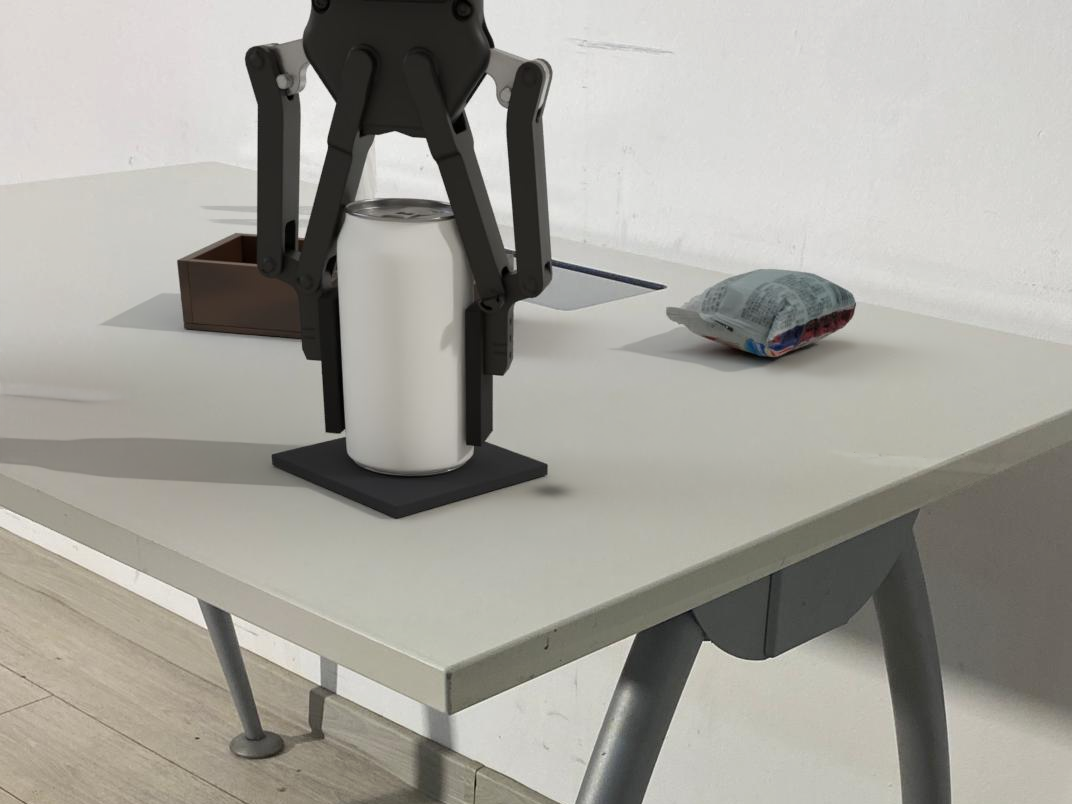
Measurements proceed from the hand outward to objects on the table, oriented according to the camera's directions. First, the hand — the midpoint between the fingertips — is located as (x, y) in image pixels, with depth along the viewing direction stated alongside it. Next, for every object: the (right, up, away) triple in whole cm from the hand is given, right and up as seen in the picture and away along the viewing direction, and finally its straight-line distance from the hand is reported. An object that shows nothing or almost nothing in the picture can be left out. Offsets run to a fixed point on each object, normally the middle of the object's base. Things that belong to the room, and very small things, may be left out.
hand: (409, 430), depth 72 cm
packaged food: (+21, +12, +26) cm, 36 cm away
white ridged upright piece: (-13, +36, +61) cm, 72 cm away
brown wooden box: (-7, +14, +27) cm, 31 cm away
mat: (0, -2, +1) cm, 2 cm away
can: (0, -1, +1) cm, 2 cm away
